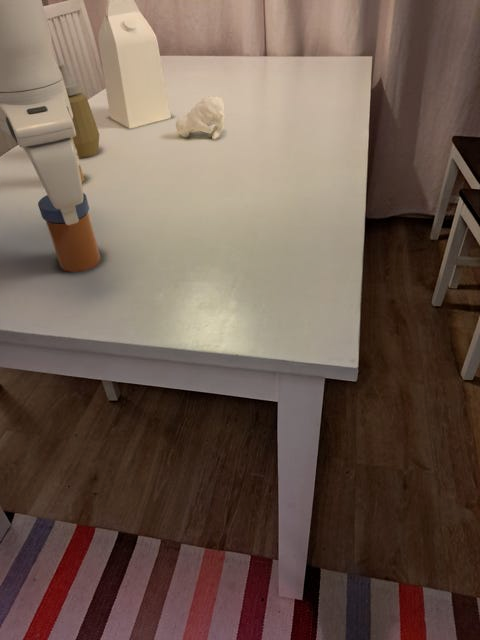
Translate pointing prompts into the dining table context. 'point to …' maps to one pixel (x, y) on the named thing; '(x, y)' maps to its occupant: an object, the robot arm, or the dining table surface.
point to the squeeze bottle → (81, 118)
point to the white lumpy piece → (203, 117)
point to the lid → (55, 214)
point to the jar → (75, 244)
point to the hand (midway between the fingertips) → (66, 210)
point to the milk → (132, 66)
